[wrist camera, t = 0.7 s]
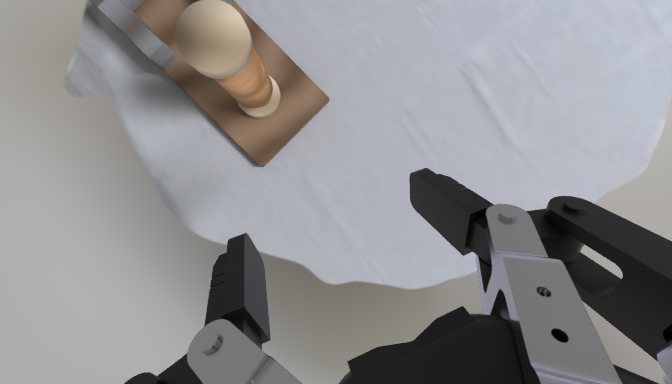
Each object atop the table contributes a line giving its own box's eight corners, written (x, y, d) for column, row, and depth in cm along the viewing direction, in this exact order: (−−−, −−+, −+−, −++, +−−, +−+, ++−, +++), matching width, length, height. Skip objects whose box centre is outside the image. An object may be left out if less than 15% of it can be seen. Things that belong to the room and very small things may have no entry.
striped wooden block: (112, 19, 32) (80, -7, 27) (181, -50, 32) (158, -86, 27) (263, 167, 33) (253, 164, 29) (329, 101, 33) (329, 88, 29)
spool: (238, 75, 31) (174, -2, 18) (280, 76, 31) (247, -1, 18) (239, 118, 31) (175, 71, 18) (281, 118, 32) (248, 72, 19)
